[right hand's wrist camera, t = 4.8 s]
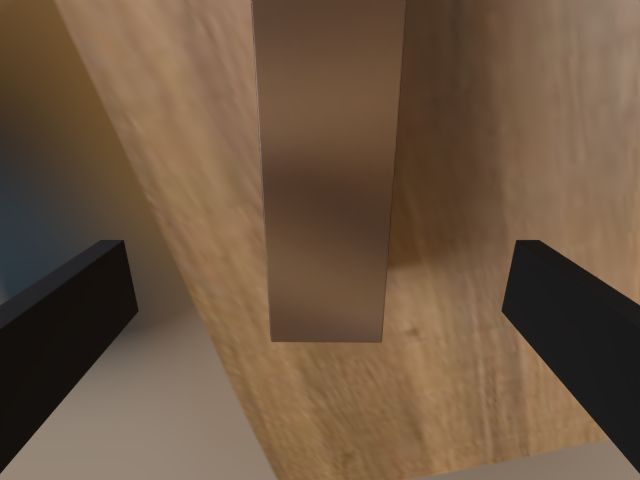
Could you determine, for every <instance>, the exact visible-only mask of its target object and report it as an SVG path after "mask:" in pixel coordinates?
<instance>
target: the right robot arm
mask: <svg viewBox="0 0 640 480" xmlns="http://www.w3.org/2000/svg"><path fill="white" fill-rule="evenodd" d="M137 312H138V306H137V301H136V297H135V292H134V287H133V282H132V277H131V273H130V268H129V263H128V258H127V253H126V249H125V244H124V240H100V241H99V242H97V243H96V244H94V245H93V246H91V247H89V248H88V249H86V250H85V251H83V252H82V253H80V254H79V255H77V256H76V257H74V258H73V259H71V260H69V261H68V262H66V263H65V264H63V265H62V266H60V267H59V268H57V269H56V270H54V271H52V272H51V273H49V274H48V275H46V276H45V277H43V278H42V279H40V280H39V281H37V282H36V283H34V284H32V285H31V286H29V287H28V288H26V289H25V290H23V291H22V292H20V293H19V294H17V295H15V296H14V297H12V298H11V299H9V300H8V301H6V302H5V303H3V304H2V305H0V473H1V472H2V471H3V470H4V469H5V467H6V466H7V465H8V464H9V463H10V462H11V460H12V459H13V458H14V457H15V456H16V455H17V453H18V452H19V451H20V450H21V449H22V448H23V446H24V445H25V444H26V443H27V442H28V440H29V439H30V438H31V437H32V436H33V435H34V433H35V432H36V431H37V430H38V429H39V428H40V426H41V425H42V424H43V423H44V422H45V420H46V419H47V418H48V417H49V416H50V415H51V413H52V412H53V411H54V410H55V409H56V408H57V406H58V405H59V404H60V403H61V402H62V401H63V399H64V398H65V397H66V396H67V395H68V393H69V392H70V391H71V390H72V389H73V388H74V386H75V385H76V384H77V383H78V382H79V380H80V379H81V378H82V377H83V376H84V375H85V373H86V372H87V371H88V370H89V369H90V368H91V366H92V365H93V364H94V363H95V362H96V361H97V359H98V358H99V357H100V356H101V355H102V354H103V352H104V351H105V350H106V349H107V348H108V346H109V345H110V344H111V343H112V342H113V341H114V339H115V338H116V337H117V336H118V335H119V334H120V332H121V331H122V330H123V329H124V328H125V326H126V325H127V324H128V323H129V322H130V321H131V319H132V318H133V317H134V316H135V315H136V314H137ZM502 312H503V314H504V315H505V316H506V317H507V318H508V319H509V321H510V322H511V323H512V324H513V325H514V326H515V328H516V329H517V330H518V331H519V332H520V334H521V335H522V336H523V337H524V338H525V339H526V341H527V342H528V343H529V344H530V345H531V346H532V348H533V349H534V350H535V351H536V352H537V354H538V355H539V356H540V357H541V358H542V359H543V361H544V362H545V363H546V364H547V365H548V366H549V368H550V369H551V370H552V371H553V372H554V373H555V375H556V376H557V377H558V378H559V379H560V381H561V382H562V383H563V384H564V385H565V386H566V388H567V389H568V390H569V391H570V392H571V393H572V395H573V396H574V397H575V398H576V399H577V401H578V402H579V403H580V404H581V405H582V406H583V408H584V409H585V410H586V411H587V412H588V413H589V415H590V416H591V417H592V418H593V419H594V421H595V422H596V423H597V424H598V425H599V426H600V428H601V429H602V430H603V431H604V432H605V433H606V435H607V436H608V437H609V438H610V439H611V440H612V442H613V443H614V444H615V445H616V446H617V448H618V449H619V450H620V451H621V452H622V453H623V455H624V456H625V457H626V458H627V459H628V460H629V462H630V463H631V464H632V465H633V466H634V468H635V469H636V470H637V471H638V472H639V473H640V305H638V304H637V303H635V302H634V301H632V300H631V299H629V298H628V297H626V296H625V295H623V294H621V293H620V292H618V291H617V290H615V289H614V288H612V287H611V286H609V285H608V284H606V283H605V282H603V281H601V280H600V279H598V278H597V277H595V276H594V275H592V274H591V273H589V272H588V271H586V270H584V269H583V268H581V267H580V266H578V265H577V264H575V263H574V262H572V261H571V260H569V259H568V258H566V257H564V256H563V255H561V254H560V253H558V252H557V251H555V250H554V249H552V248H551V247H549V246H547V245H546V244H544V243H543V242H541V241H540V240H516V244H515V249H514V253H513V258H512V263H511V268H510V273H509V277H508V282H507V287H506V292H505V297H504V301H503V306H502Z"/></svg>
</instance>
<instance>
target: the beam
mask: <svg viewBox="0 0 640 480" xmlns="http://www.w3.org/2000/svg"><path fill="white" fill-rule="evenodd" d="M406 6H407V0H251V7H252V25H253V42H254V59H255V76H256V93H257V111H258V128H259V145H260V162H261V179H262V197H263V214H264V231H265V248H266V265H267V283H268V300H269V317H270V334H271V342H374V343H381V342H382V332H383V319H384V305H385V292H386V278H387V264H388V251H389V237H390V224H391V210H392V196H393V183H394V169H395V155H396V142H397V128H398V115H399V101H400V87H401V74H402V60H403V47H404V33H405V19H406Z"/></svg>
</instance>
